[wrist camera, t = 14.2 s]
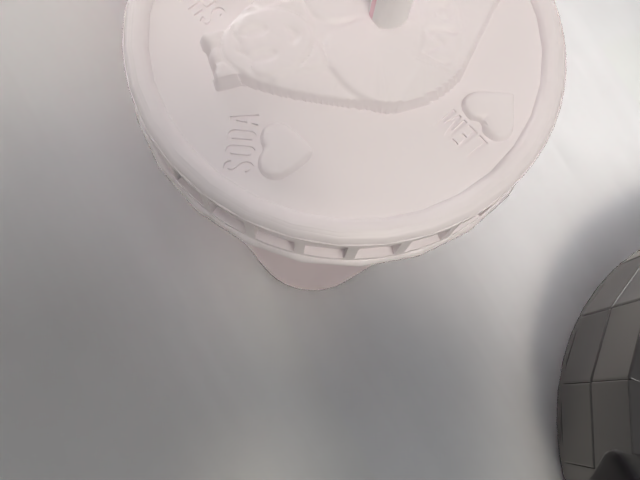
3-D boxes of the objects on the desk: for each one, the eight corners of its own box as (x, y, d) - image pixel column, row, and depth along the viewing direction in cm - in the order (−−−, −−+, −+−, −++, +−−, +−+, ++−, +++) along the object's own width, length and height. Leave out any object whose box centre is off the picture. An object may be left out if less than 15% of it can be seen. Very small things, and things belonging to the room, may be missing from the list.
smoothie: (449, 296, 17) (1094, -111, 4) (241, 368, 16) (30, 179, 3) (373, 111, 18) (622, -667, 5) (180, 165, 18) (-150, -615, 4)
